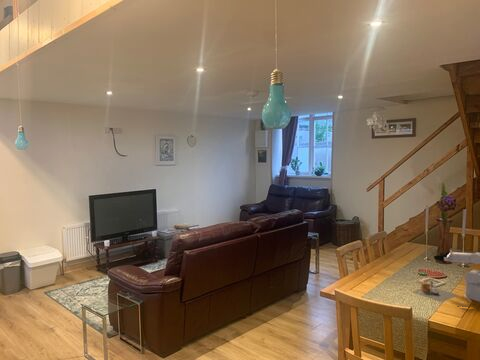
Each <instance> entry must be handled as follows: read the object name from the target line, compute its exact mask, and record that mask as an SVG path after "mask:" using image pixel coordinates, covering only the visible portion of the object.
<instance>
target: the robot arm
mask: <svg viewBox="0 0 480 360" xmlns="http://www.w3.org/2000/svg"><path fill="white" fill-rule="evenodd" d="M433 258H434V260H437V261H440V262H441V263H444V264H447V262H451V263H466V264H470V263H472V264H474V265H480V252H479V251H477V252H475V253H473V252H472V253H471V252H458V251H457V252H456V251H455V252H454V250H451V249H450V250H449V251H446V252H440V253H439V254H436V255H433ZM463 279H464V281H465V294H463V296H464V297H465V298H466V299H469V300H472V301H475V302H480V270H478V269H472V270H471V271H469V272H466V273H465V274H464V276H463Z"/></svg>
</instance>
